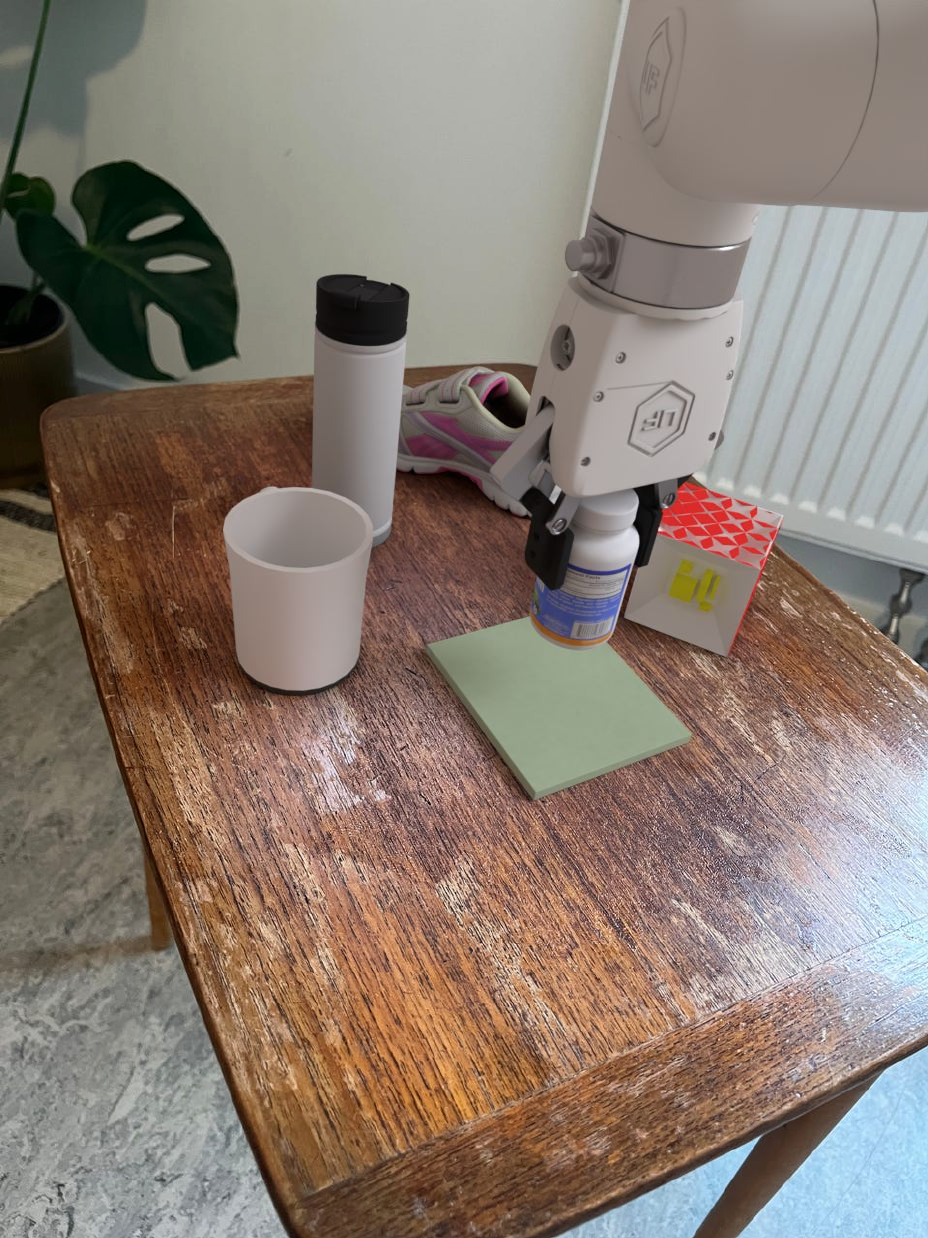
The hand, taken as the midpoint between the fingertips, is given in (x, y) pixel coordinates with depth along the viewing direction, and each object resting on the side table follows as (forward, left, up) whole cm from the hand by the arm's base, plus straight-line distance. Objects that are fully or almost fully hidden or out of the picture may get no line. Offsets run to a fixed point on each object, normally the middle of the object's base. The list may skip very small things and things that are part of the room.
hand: (586, 562), depth 57 cm
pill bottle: (0, 0, -5) cm, 5 cm away
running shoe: (+28, -8, -11) cm, 31 cm away
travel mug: (+22, +5, -11) cm, 25 cm away
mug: (+11, +14, -11) cm, 21 cm away
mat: (0, 0, -11) cm, 11 cm away
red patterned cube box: (+4, -15, -11) cm, 19 cm away
